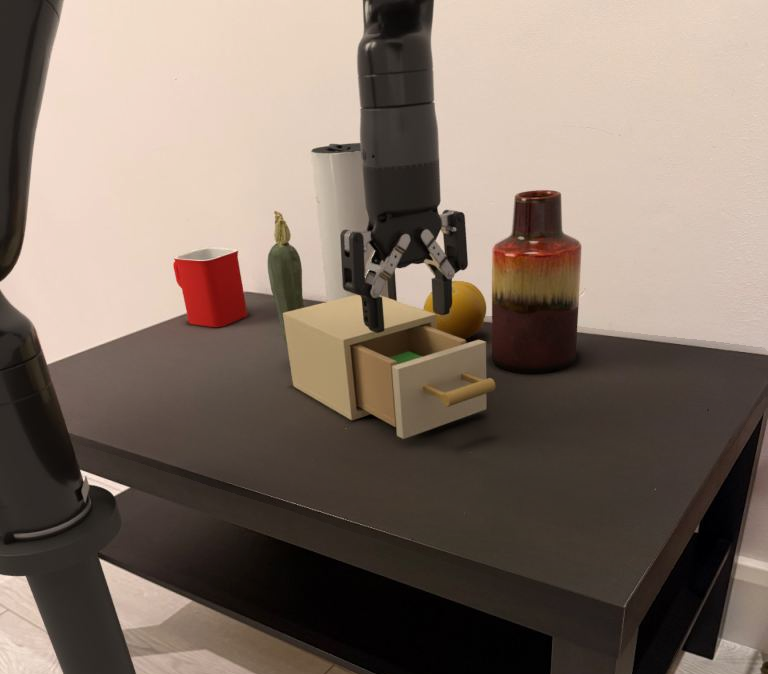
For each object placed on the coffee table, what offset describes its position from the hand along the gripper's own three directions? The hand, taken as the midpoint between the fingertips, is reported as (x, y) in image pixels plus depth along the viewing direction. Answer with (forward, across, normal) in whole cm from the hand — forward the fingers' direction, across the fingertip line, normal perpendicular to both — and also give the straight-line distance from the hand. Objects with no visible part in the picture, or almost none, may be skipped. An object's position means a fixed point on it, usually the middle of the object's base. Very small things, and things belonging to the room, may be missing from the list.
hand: (409, 322), depth 83 cm
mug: (+11, -2, +57) cm, 58 cm away
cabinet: (+11, 0, +11) cm, 16 cm away
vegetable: (+11, -2, +25) cm, 28 cm away
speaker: (+11, +12, +30) cm, 34 cm away
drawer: (+10, 0, -1) cm, 10 cm away
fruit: (+11, +20, +18) cm, 29 cm away
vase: (+11, +22, +4) cm, 25 cm away
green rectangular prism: (+9, 0, 0) cm, 9 cm away
